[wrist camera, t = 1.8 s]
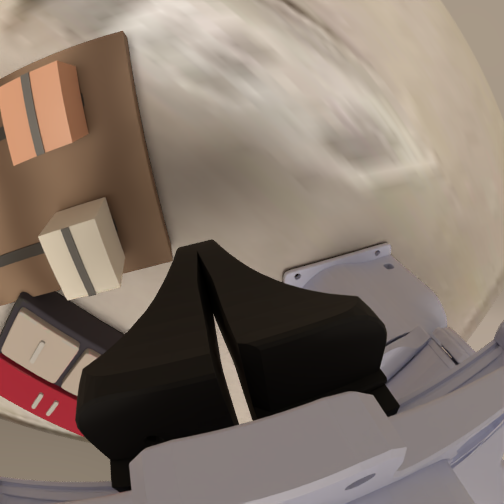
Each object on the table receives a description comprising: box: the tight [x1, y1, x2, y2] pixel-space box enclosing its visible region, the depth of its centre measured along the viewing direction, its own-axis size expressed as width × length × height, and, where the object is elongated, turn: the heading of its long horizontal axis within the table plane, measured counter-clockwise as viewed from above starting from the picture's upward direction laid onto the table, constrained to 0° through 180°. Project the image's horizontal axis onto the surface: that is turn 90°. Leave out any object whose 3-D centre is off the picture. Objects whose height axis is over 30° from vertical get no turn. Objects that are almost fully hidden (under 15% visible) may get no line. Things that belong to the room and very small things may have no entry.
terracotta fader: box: [0, 61, 89, 166], centre depth 10 cm, size 3×4×3 cm
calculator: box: [0, 291, 124, 436], centre depth 21 cm, size 11×4×15 cm
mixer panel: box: [0, 31, 173, 306], centre depth 14 cm, size 15×13×2 cm
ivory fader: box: [38, 197, 125, 301], centre depth 14 cm, size 3×4×3 cm
